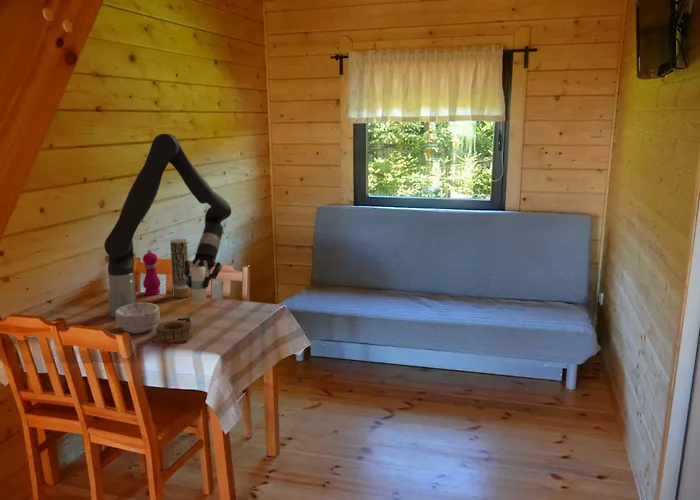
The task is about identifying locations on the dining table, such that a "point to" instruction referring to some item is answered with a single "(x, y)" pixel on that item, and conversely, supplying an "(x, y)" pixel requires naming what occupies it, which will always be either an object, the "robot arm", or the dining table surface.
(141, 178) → the robot arm
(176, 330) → the holder
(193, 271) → the roll
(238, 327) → the dining table surface
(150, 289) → the pepper mill
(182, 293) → the bark covered cylinder
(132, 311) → the paper bowls
